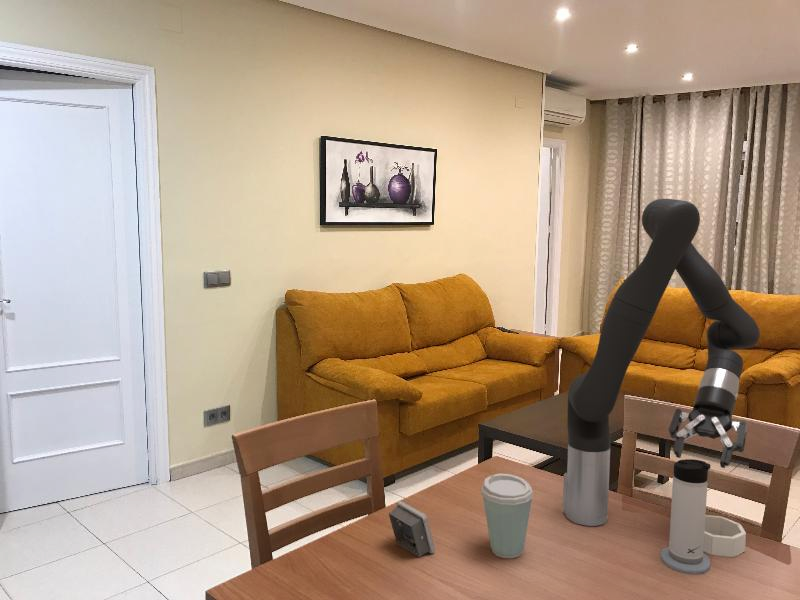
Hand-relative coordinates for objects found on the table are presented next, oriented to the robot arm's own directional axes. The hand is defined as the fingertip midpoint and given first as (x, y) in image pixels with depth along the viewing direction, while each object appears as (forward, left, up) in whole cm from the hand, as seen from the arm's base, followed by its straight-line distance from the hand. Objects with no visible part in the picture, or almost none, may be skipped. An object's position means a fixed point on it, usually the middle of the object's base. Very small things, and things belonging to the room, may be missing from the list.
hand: (699, 460), depth 130 cm
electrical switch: (-31, -49, -20) cm, 62 cm away
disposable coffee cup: (-20, -33, -20) cm, 44 cm away
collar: (+1, +7, -19) cm, 21 cm away
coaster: (+2, -5, -19) cm, 20 cm away
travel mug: (+2, -5, -19) cm, 19 cm away
